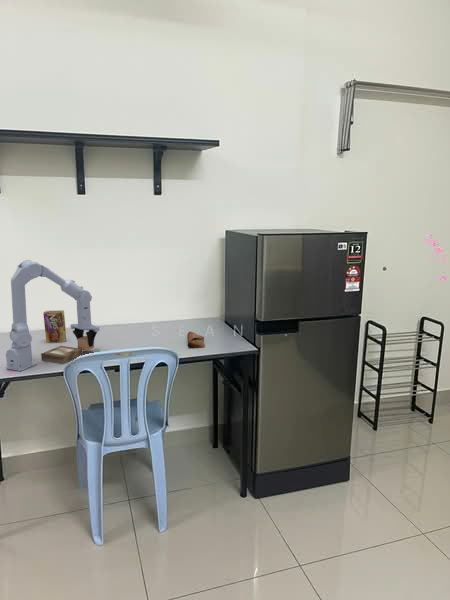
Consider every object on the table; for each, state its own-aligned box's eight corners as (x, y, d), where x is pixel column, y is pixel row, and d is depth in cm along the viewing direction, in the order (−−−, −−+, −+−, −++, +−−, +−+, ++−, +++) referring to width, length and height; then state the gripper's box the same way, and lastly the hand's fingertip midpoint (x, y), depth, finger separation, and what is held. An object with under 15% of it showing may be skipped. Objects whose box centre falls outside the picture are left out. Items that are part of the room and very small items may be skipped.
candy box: (66, 339, 221) (64, 309, 218) (64, 342, 217) (62, 311, 214) (48, 340, 220) (45, 310, 217) (45, 342, 216) (43, 312, 213)
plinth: (63, 363, 187) (63, 357, 187) (41, 360, 192) (41, 353, 191) (82, 355, 198) (82, 348, 198) (61, 351, 203) (60, 345, 202)
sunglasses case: (206, 347, 208) (198, 336, 206) (193, 355, 208) (185, 344, 206) (203, 336, 225) (196, 326, 224) (191, 344, 225) (185, 333, 224)
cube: (87, 350, 199) (86, 339, 198) (78, 349, 200) (77, 338, 199) (94, 347, 203) (93, 336, 202) (85, 346, 205) (84, 335, 204)
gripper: (103, 315, 200) (104, 344, 202) (77, 312, 205) (79, 341, 208) (92, 319, 193) (94, 349, 196) (66, 316, 199) (68, 345, 201)
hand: (86, 345), depth 201 cm, fingers closed on cube, 5 cm apart
